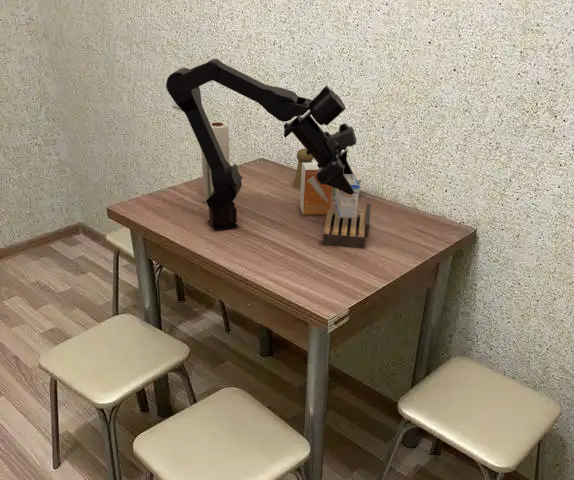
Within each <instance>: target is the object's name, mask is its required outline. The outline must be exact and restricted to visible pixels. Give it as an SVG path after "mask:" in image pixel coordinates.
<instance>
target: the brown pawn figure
mask: <svg viewBox="0 0 574 480" xmlns="http://www.w3.org/2000/svg"><path fill="white" fill-rule="evenodd" d="M306 151H307V149H306V148H300V149H299V150H297V152H296V159H297V160H298V161H297V168H296V173H295V177H294V187H296V188H299V189H301V171H302V163H312V162H313V160H314V158H313V157H312V155H311V154H310V155H308V154H307V153H306Z"/></svg>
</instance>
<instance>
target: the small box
mask: <svg viewBox="0 0 574 480" xmlns="http://www.w3.org/2000/svg"><path fill="white" fill-rule="evenodd" d="M318 169H319V167H318V166H317V161H312V163H302V171H301V188H300V193H299V194H300V195H299V208H300V210H301V213H302V215H303V216H307V215H327V213H328V209H331V210H332V200H333V199H332V188H333V187H332V186H329V185H325V184H323V185H321V183H320V182H319V181H318V180H317V172H318Z"/></svg>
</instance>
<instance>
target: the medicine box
mask: <svg viewBox="0 0 574 480" xmlns="http://www.w3.org/2000/svg"><path fill="white" fill-rule="evenodd" d="M344 175H345V177H346V178H347V180H348V182H349V184H350V185H351V187H352V189H353V191H354V193H353V194H351V195H350V194H348V193H345V192H343V191H341V190H339V189H337V195H336V200H335V204H334V205H335V209H336V210H337V212H338V215H339V217H340V218H356V213H357V212H358V205H359V199H360V198H359V197H360V190H361V184H360V185H359V183H358V181H357V178H356V176H355V175H352V174H344Z"/></svg>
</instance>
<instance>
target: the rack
mask: <svg viewBox="0 0 574 480" xmlns="http://www.w3.org/2000/svg"><path fill="white" fill-rule="evenodd" d="M371 204H372V203H366V207H365V211H360V214H358V211H357V213H356V218H340V217H339V215H338V212H337V209H336V210H335V212H334V209H332V208H331V209H328V213H327V214H326V218H325V223H324V226H323V227H324V228H323V234H322V245H323V246H332V247H333V246H334V247H344V248H357V249H364V244H365V238H369V234H370V233H369V232H370V224H371V223H370V222H371ZM332 226H333V227H332ZM331 227H332V232H331ZM340 227H341V231H340V232H339V230H340ZM348 228H350V229H349V233H348ZM357 228H358V234H357V233H356V232H357Z"/></svg>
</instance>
